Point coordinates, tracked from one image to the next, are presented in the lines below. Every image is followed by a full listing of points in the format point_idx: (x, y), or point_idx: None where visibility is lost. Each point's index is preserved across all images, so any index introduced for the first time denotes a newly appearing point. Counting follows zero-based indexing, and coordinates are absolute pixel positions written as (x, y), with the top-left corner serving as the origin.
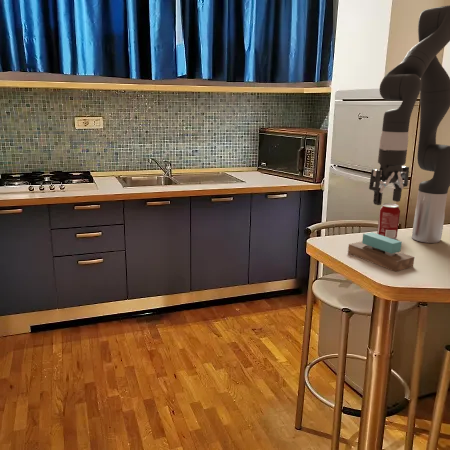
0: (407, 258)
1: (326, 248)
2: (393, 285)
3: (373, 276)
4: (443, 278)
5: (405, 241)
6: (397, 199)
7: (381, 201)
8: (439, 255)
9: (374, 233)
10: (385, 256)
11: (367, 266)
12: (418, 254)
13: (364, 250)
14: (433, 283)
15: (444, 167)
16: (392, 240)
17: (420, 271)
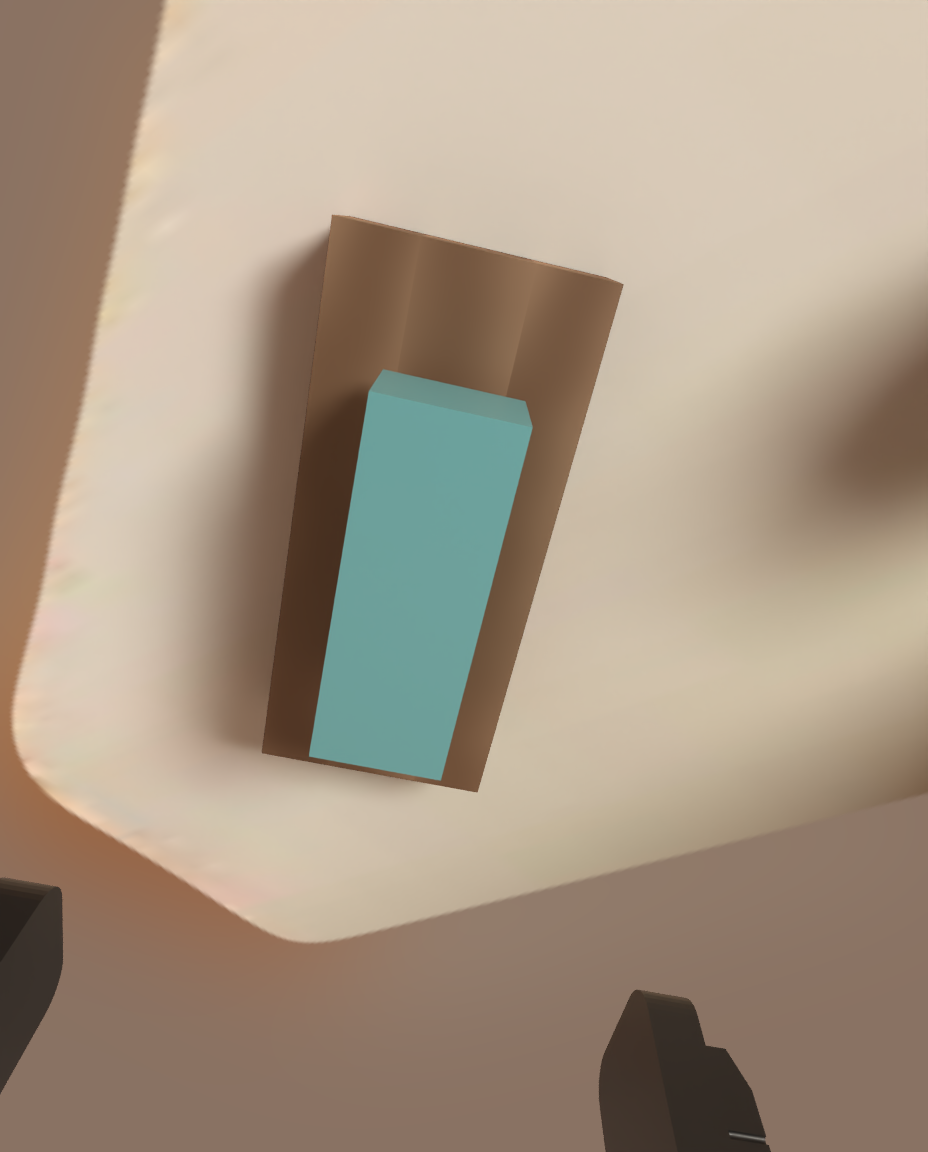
0: (401, 773)
1: None
2: (54, 784)
3: (62, 648)
4: (419, 911)
5: None
6: (613, 1101)
7: (17, 1058)
8: (881, 772)
9: (507, 474)
10: (297, 651)
11: (195, 529)
12: (799, 668)
13: (304, 441)
14: (293, 902)
15: None
16: (407, 713)
17: (426, 800)
